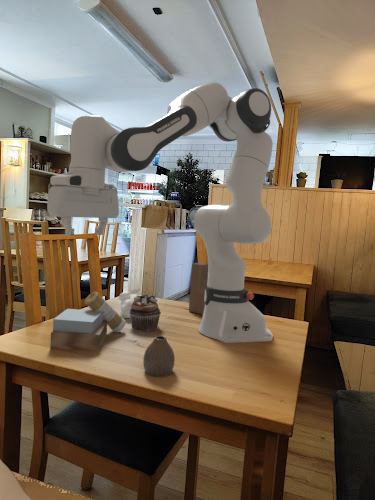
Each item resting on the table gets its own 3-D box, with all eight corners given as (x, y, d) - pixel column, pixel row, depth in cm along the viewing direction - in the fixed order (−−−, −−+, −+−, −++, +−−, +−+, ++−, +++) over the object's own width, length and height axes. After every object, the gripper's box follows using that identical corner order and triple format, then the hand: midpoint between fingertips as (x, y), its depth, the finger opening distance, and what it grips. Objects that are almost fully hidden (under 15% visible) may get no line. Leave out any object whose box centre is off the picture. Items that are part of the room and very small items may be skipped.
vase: (169, 384, 78) (172, 345, 77) (138, 380, 79) (140, 340, 78) (176, 371, 85) (178, 334, 84) (147, 367, 86) (149, 330, 85)
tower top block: (102, 321, 102) (103, 311, 102) (92, 333, 92) (92, 322, 92) (67, 319, 103) (67, 308, 102) (52, 330, 93) (53, 319, 92)
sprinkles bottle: (87, 293, 105) (116, 322, 111) (81, 305, 101) (111, 334, 108) (99, 289, 103) (128, 318, 109) (93, 301, 99) (123, 331, 106)
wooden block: (215, 314, 134) (219, 266, 132) (207, 317, 130) (211, 266, 128) (195, 309, 140) (199, 262, 138) (188, 311, 136) (191, 263, 134)
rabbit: (116, 312, 128) (117, 286, 127) (136, 311, 131) (138, 285, 130) (123, 321, 119) (125, 292, 118) (145, 319, 122) (147, 291, 121)
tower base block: (106, 337, 104) (107, 320, 104) (98, 354, 93) (99, 334, 92) (63, 335, 104) (64, 318, 103) (50, 352, 92) (50, 332, 91)
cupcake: (122, 327, 113) (123, 295, 112) (144, 321, 121) (145, 291, 120) (145, 334, 107) (146, 300, 106) (166, 327, 115) (167, 295, 114)
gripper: (109, 184, 104) (107, 233, 106) (44, 176, 88) (42, 234, 89) (125, 185, 100) (122, 235, 102) (60, 176, 84) (58, 237, 85)
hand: (85, 235), depth 95 cm, fingers open, 8 cm apart
